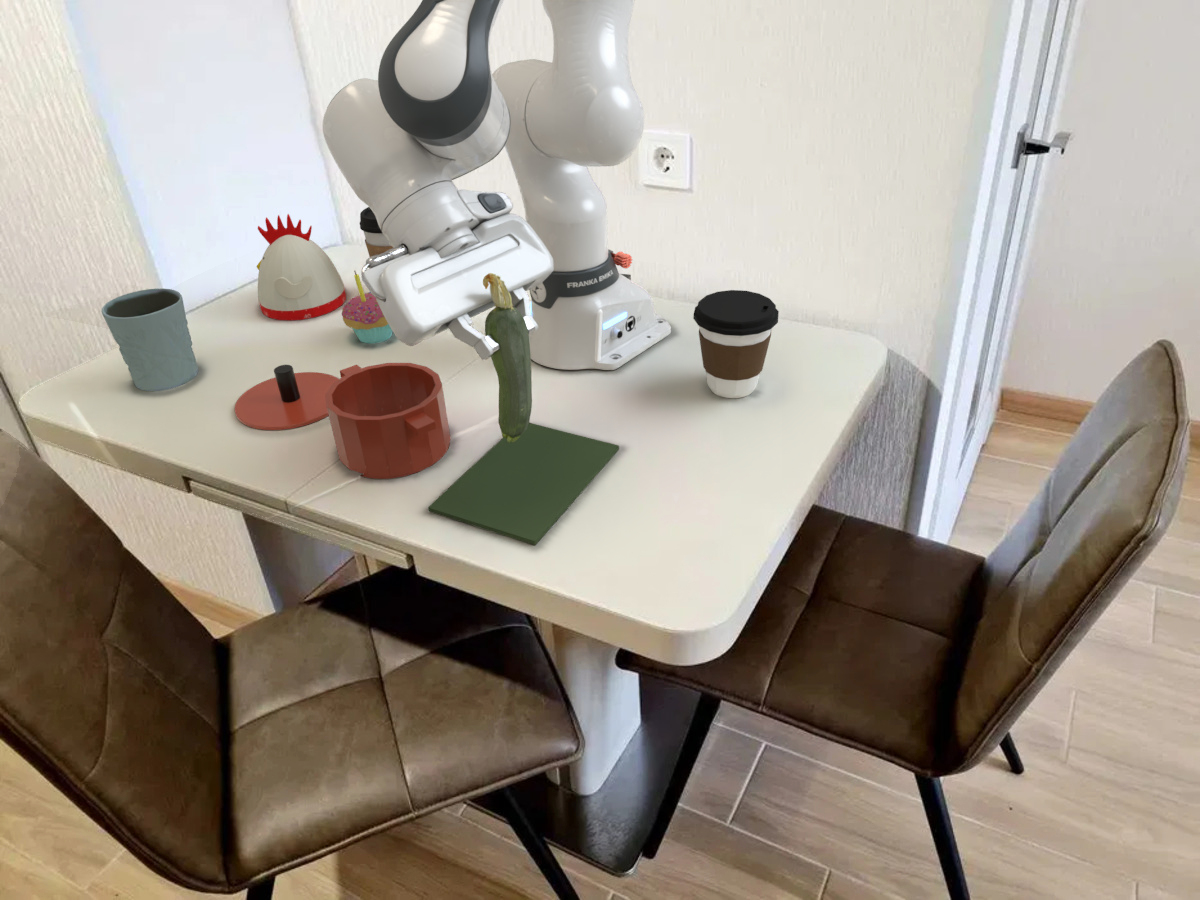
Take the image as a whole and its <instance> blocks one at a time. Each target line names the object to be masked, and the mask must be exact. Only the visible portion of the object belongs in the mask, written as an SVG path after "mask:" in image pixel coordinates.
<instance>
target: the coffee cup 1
mask: <svg viewBox="0 0 1200 900" xmlns="http://www.w3.org/2000/svg"><path fill="white" fill-rule="evenodd" d="M359 218H360V219H359V229H360V230H361V231H362V232H363V234H364V238H365V239H364V243H365V246H366V249H367V253H368V258H370V257H371V256H374V255H379V254H382V253H384V252H386V251H388V250H390V249H392V248H393V247H392V245H391V244H390V243H389V241H388V240H387V238H386V237H385V235H384V234H383V232H382V231H381V229H380V227H379V225H378V222H377V219H376V216H375V215H374V213H373V211H372V210H371V209H370V208H369V206H367V207H365V208H364V209H363V210H362V211H360V213H359Z"/></svg>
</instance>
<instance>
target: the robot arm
mask: <svg viewBox="0 0 1200 900" xmlns="http://www.w3.org/2000/svg"><path fill="white" fill-rule="evenodd" d="M504 1H505V0H421V2H420V3H419V5H418V7H417V8H416V10H415V11H414V12H413V14H412V15H411V16H410V18H409V19H408V20H407V21H406V22H404V24H403V26H401V28H400V29H399V30H398V31H397V33H396V34H395V35H394V36H393V37H392V39H390V42H389V43H388V44H387V46H386V48H385V49H384V51H383V53H382V56H381V59H380V62H379V66H378V74H377V79H371V78H368V77H367V78H364V77H363V78H358V79H356V80H353V81H351V82H349V83H348V84H346V85H344V86H343V88H341V89H340V90H339V91H338V92H337V93H336V94H335V95H334V96H333V97H332V98H331V100H330V102H329V103H328V105H327V107H326V109H325V112H324V115H323V117H322V134H323V138H324V141H325V144H326V146H327V149H328V151H329V153H330V155H331V157H332V159H333V161H334V162H335V164H336V166H337V167H338V169H339V171H340V172H341V174H342V175H343V177H344V178H345V180H346V182H347V183H348V185H349V186H350V187H351V189H352V191H353V192H354V193H355V195H356V197H357V198H358V199H359V201H362V202H363V203H364V204H365V205H366V206H367V207H369V208H370V209H371V210H372V211H373V213H374V215H375V216H376V219H377V222H378V225H379V227H380V229H381V231H382V232H383V234H384V235H385V237H386V238H387V240H388V241H389V243H390V244H391V245H392V247H393V248H392V249H390V250H388V251H386V252H384V253H382V254H379V255H374V256H371V257H368V258H366V260H365V264H363V266H362V267H361V271H360V273H361V277H360V278H361V280H362V282H363V284H364V285H365V287H366V288H367V290H368V292H371V294H372V295H373V296H374V297H376V300H377V302H378V304H379V307H380V309H381V311H382V313H383V315H384V317H385V319H386V320H387V322H388V324H389V326H390V327H391V329H392V333H393V334H394V336H395V338H396V339H397V340H398V341H399V342H400V343H402V344H405V345H407V346H409V347H414V346H416V345H418V344H419V343H422V342H424V341H426V340H427V339H430V338H433V337H435V336H436V335H438V334H440V333H442V332H445V331H448V330H449V331H450V332H451V334H452V335H453V336H454V338H455V339H456V340H459V341H460V342H462V343H464V344H466V345H467V346H470V347H472V348H473V349H474V350H475V351H476V353H477V354H478V356H479V357H480V359H482V360H484V361H486V360H487V359H490V358H491V356H493V355H495V354H496V353H497V352H498V351H499V350H500V346H499V344H498V343H497V342H495V338H494V337H493V336H492V334H490V335H487V336H485V335H484V334H483V333H482V332H480V331H479V330H477V329H475V328H474V327H473V326H472V324H473V323H474V321H473V320H472V318H473V317H475V316H478V315H480V314H482V313H484V312H486V311H488V310H490V309H492V308H495V307H494V305H495V303H494V302H493V301H492V298H491V293H490V283H489V282H488V283H489V286H488V287H487V289H485V286H484V285H483V279H484V277H485V276H486V275H487V274H489V273H493V274H496V275H497V276H500V277H501V278H500V279H501V280H502V281H504V284H505V286H506V287H507V290H508V292H509V293H510V295H511V298H512V304H513V307H515V308H516V309H518V311H519V312H520V313H521V314H522V316H523V317H524V319H525V322H526V325H527V329H528V334H529V343H530V353H531V360H532V361H533V362H535V363H536V364H538V365H541V366H544V367H547V368H550V369H556V370H565V371H567V370H569V371H571V370H573V371H575V370H577V371H578V370H590V369H593V370H594V369H595V370H602V371H613V370H614V371H615V370H617V369H619V368H621V367H622V366H624V365H625V364H626V363H628V362H629V361H631V360H632V359H635V358H636V357H637V356H639V355H641V354H642V353H644V352H645V351H646V350H649V348H651V347H652V346H654V345H655V344H657V343H658V342H660V341H661V340H663V339H665V338H666V337H668V336H669V335H671V333H672V327H671V324H670V323H669V321H667V319H666V318H665V317H663V316H661V315H660V314H659V313H656V308H655V304H654V303H655V302H654V299H653V297H652V296H651V294H650V293H649V291H647V290H646V289H645V288H644V287H642V286H641V285H639V284H638V283H636V282H634V281H632V275H631V274H630V273H629V274H627V273H620V272H619V270H618V267H617V266H619V267H621V268H623V269H629V268H630V267H631V264H633V257H632V256H631V254H629V253H624V252H623V251H618V252H616V253H615V252H614V251H613V250H611V249H609V232H608V204H607V201H606V198H605V195H604V193H603V191H602V190H601V188H600V187H599V185H598V184H597V182H596V181H595V180H594V178H593V176H592V174H591V172H590V170H589V167H593V168H594V167H595V168H597V167H598V168H602V167H614V166H618V165H621V164H622V163H624V162H625V161H627V160H628V159H629V158H630V157H631V156H633V154H634V153H635V151H636V150H637V148H638V146H639V144H640V141H641V139H642V136H643V132H644V127H645V112H644V108H643V107H644V106H643V104H642V101H641V98H640V97H639V95H638V93H637V91H636V90H635V88H634V85H633V81H632V77H631V71H630V62H629V36H630V35H629V34H630V27H631V26H630V24H631V21H632V16H633V15H632V14H633V11H634V6H635V1H636V0H541V2H542V3H541V4H542V7H543V10H544V13H545V14H546V16H547V17H548V19H549V21H550V25H551V31H552V41H553V47H552V48H553V50H552V51H553V53H552V62H551V61H546V60H541V59H538V58H537V59H536V58H529V59H521V60H516V61H510V62H507V63H504V64H502V65H500V66H499V67H498V68H496V69H495V70H494V71H493V73H492V69H491V61H490V38H491V35H492V31H493V28H494V25H495V24H496V20H497V18H498V16H499V13H500V11H501V8H502V6H503V3H504ZM504 149H505V152H506V154H507V157H508V160H509V162H510V165H511V168H512V171H513V174H514V177H515V179H516V183H517V185H518V189H519V192H520V196H521V200H522V205H523V211H524V218H523V217H521V215H518V214H516V213H511V212H512V210H513V208H514V203H513V201H512V199H511V198H510V197H509V195H508V194H506V192H504V191H478V190H469V189H458V187H457V186H456V184H455V183H454V182H453V181H454V180H457V179H458V178H461V177H464V176H465V175H467V174H470V173H471V172H473V171H475V170H477V169H479V168H481V167H482V166H484V165H486V164H488V163H490V162H491V161H493V160H494V159H495V158H496V157H497V156H498V155H499V154H500V153H501V152H502V151H503V150H504ZM528 291H529V294H530V297H529V295H528V293H527V292H528ZM530 298H531V301H530Z"/></svg>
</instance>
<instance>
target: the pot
mask: <svg viewBox="0 0 1200 900" xmlns="http://www.w3.org/2000/svg"><path fill="white" fill-rule="evenodd" d="M339 374H340V378H338V379H339V380H337V381H336V382H334V383H333V384H332V385H331V387H330V388H329V390H328V391H327V393H326V394H325V399H326V406H327V410H328V415H329V416H328V418H329V422H330V427H331V431H332V435H333V438H334V443H335V447H336V450H337V455H338V460H339V462H341V463H342V464H343V465H344V466H345V467H346V468H347V469H348V470H349V471H353V472H356V473H359V474H361V475H359V476H360V477H362V478H366V479H375V480H389V479H399V478H403V477H407V476H411V475H414V474H418V473H419V472H422V471H425V470H426V469H428V468H430V467H432V466H433V465H435V464H436V463H437V462H439V461H440V460H441V459H442V458H443V457H444V456H445V455H446V454H447V452H448V450H449V448H450V444H451V438H452V437H451V432H450V425H449V420H448V413H447V407H446V401H445V400H446V399H445V395H444V389H443V384H442V381H441V378H440V375H439V373H438V372H436V371H434V370H432V369H431V368H430V367H428V366H426V365H422V364H417V363H412V362H385V363H384V362H383V363H380V364H373V365H367V366H364V367H361V366H359V364H354V365H352V366H348V367H346V368H342V369H340V370H339Z"/></svg>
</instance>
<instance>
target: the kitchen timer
mask: <svg viewBox="0 0 1200 900" xmlns="http://www.w3.org/2000/svg"><path fill="white" fill-rule="evenodd" d="M276 218H277V221H276V222H277V223H276V224H277V226H276V227H277V228H274V226H273V225H272V223H271V220H269V218H268V217H265V221H264V222H265V226H266V230H265V229H263V228H262V227H261V226H260V225H257V230H258V232H259V233H260V235H261V236H262V237H263V239H264V240H265V241H266V242H267V243H268V244H269V245H268V246H267V247H266V249H265V251H264V253H263V255H262V257H261V260H260V261H259V262H258V263H257V265H256V269H257V270H258V275H257V299H258V304H259V309H260V311H261V312H262V314H263V315H264V316H265V317H268V318H269V319H273V320H276V321H291V322H292V321H303V320H308V319H313V318H317V317H321V316H323V315H327V314H329V313H332V312H333V311H336V310H337V309H339V308H340V307H341V306H343V305H344V303H345V302H346V300H347V293H346V287H345V284H344V281H343V279H342V276H341V275H340V273H339V271H338V269H337V268H336V265H335V264H334V263H333V261H332V259H331V258H330V256H329V255H328V254H327V253H326V252H325V251H324V249H322V247H321V246H320V245H318V244H317V243H316V242H315V241H314V240H313V239H310V238H311V235H312V228H313V227H312V225H310V226H309V228H308V229H307V232H306V233H303V232H302V220H301V219H298V222H297V224H296V226H295V225H294V223H293V221H292V218H291V215H290V214H289V213H287V215H286V227H285V226H284V223H283V221H282V218H281V217H280V214H278V215H277V217H276Z"/></svg>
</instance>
